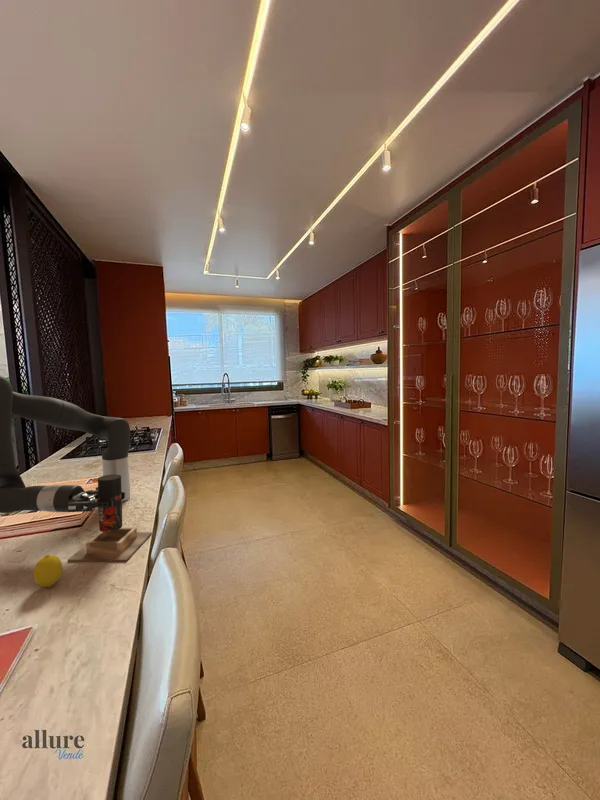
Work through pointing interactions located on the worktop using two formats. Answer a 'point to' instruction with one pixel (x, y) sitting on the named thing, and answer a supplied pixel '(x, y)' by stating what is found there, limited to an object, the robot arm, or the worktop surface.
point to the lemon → (47, 570)
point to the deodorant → (112, 490)
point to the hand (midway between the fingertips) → (118, 499)
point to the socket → (111, 546)
